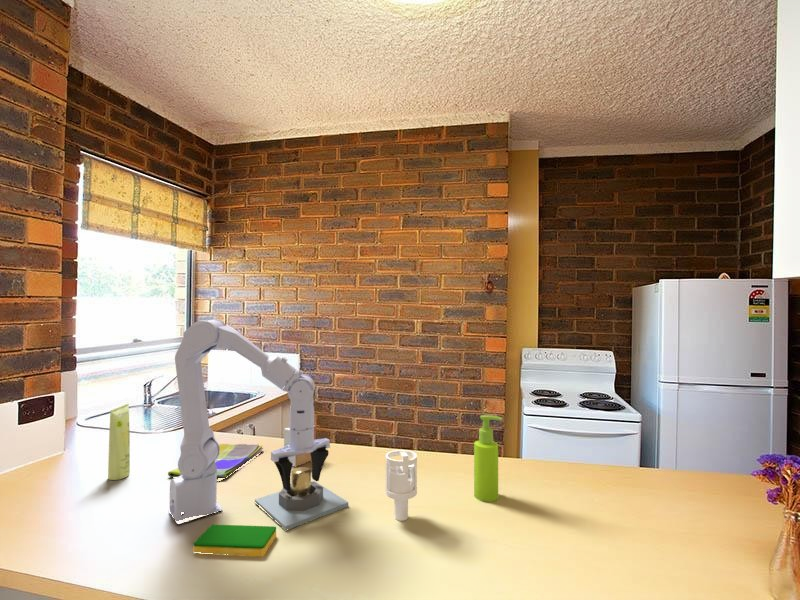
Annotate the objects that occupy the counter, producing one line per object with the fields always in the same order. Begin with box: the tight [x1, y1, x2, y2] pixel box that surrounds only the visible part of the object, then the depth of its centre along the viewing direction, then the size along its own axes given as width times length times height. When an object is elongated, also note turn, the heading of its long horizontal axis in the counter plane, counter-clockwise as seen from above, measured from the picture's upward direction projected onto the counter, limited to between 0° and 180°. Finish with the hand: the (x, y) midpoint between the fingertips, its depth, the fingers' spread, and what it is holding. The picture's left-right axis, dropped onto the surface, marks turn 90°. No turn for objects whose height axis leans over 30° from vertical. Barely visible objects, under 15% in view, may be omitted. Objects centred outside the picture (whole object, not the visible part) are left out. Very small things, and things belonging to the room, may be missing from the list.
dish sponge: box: [192, 524, 277, 557], centre depth 81 cm, size 7×14×2 cm, turn 87°
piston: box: [290, 466, 312, 497], centre depth 97 cm, size 4×4×7 cm
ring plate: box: [254, 480, 349, 531], centre depth 97 cm, size 16×16×4 cm
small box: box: [283, 425, 317, 467], centre depth 125 cm, size 8×6×10 cm
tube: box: [107, 402, 131, 481], centre depth 113 cm, size 6×5×20 cm
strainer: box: [385, 449, 418, 522], centre depth 92 cm, size 7×7×15 cm
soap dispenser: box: [473, 414, 503, 503], centre depth 102 cm, size 6×7×20 cm
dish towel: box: [167, 443, 264, 480], centre depth 123 cm, size 18×24×3 cm
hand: (301, 484), depth 97 cm, fingers open, 7 cm apart
